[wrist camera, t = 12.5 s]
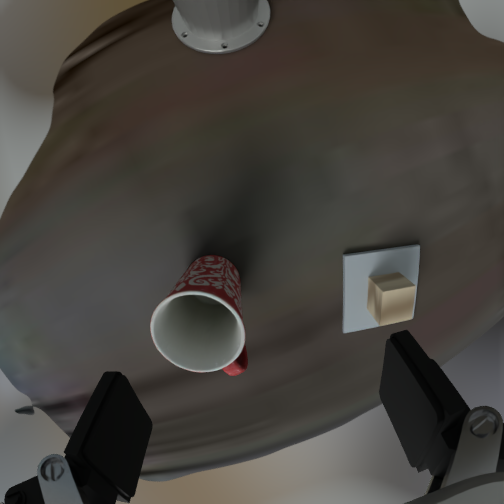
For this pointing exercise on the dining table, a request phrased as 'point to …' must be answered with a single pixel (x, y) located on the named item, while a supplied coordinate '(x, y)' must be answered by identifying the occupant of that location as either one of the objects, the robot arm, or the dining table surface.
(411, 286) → the maple block
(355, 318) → the pad
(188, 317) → the mug
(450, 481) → the robot arm
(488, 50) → the dining table surface
